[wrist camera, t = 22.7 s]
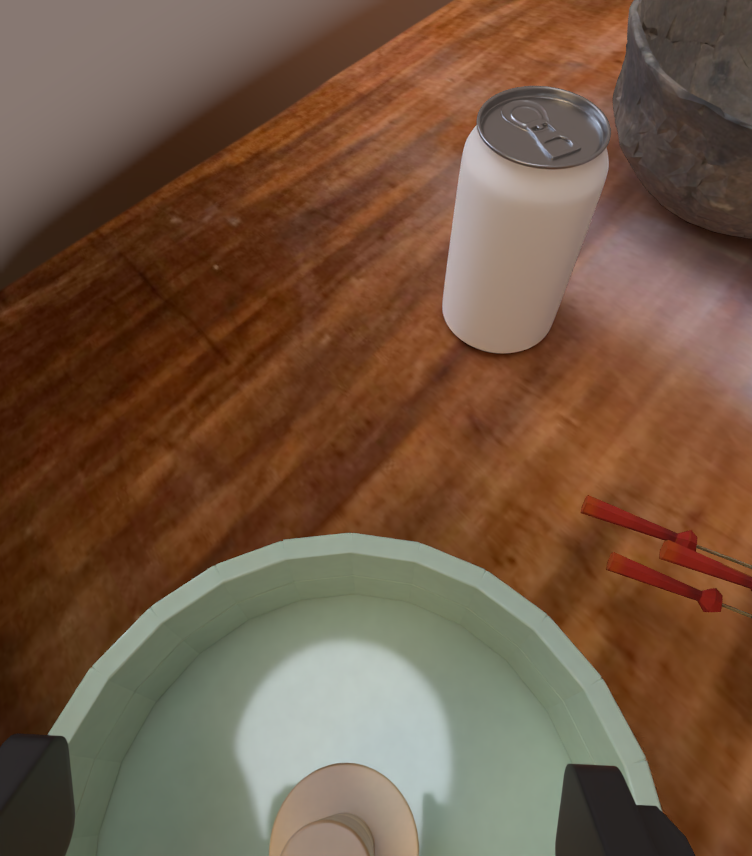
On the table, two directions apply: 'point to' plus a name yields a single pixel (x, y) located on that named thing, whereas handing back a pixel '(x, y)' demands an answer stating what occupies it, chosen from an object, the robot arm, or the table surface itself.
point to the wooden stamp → (344, 816)
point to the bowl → (690, 108)
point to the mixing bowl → (338, 704)
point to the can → (522, 214)
